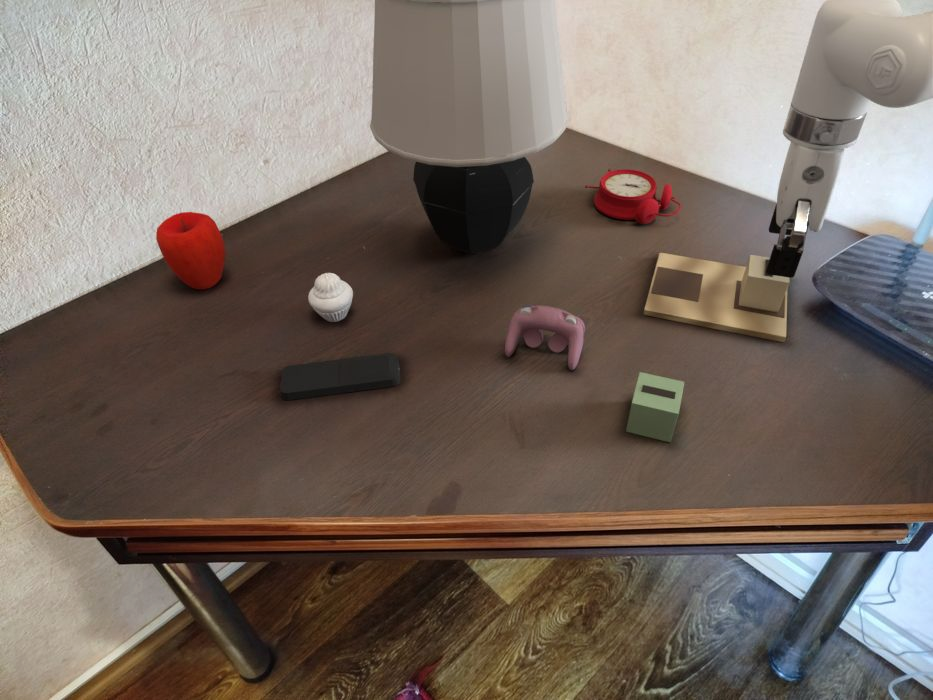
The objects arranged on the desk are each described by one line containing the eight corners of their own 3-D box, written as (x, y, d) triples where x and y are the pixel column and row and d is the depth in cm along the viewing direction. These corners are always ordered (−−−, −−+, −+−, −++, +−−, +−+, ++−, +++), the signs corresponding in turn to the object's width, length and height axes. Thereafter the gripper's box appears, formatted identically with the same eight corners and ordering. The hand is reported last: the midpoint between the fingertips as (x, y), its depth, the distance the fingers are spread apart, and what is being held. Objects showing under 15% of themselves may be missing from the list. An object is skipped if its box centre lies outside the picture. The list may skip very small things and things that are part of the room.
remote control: (281, 404, 79) (401, 385, 80) (277, 394, 78) (399, 375, 79) (284, 375, 83) (399, 358, 83) (280, 366, 82) (396, 348, 82)
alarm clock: (611, 161, 111) (693, 168, 102) (614, 195, 115) (693, 204, 105) (577, 186, 106) (660, 195, 96) (581, 220, 110) (662, 233, 100)
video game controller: (581, 362, 84) (590, 311, 81) (576, 373, 80) (585, 319, 77) (509, 347, 86) (516, 297, 84) (500, 357, 82) (507, 305, 80)
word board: (785, 279, 92) (788, 273, 91) (783, 342, 83) (786, 336, 82) (658, 257, 97) (659, 251, 96) (643, 315, 88) (644, 308, 87)
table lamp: (357, 241, 104) (303, -41, 76) (485, 184, 115) (478, -79, 87) (459, 324, 88) (438, 7, 60) (596, 248, 99) (630, -48, 72)
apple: (248, 272, 99) (227, 212, 91) (207, 305, 93) (180, 243, 86) (206, 258, 102) (182, 198, 95) (164, 289, 97) (135, 228, 89)
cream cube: (778, 290, 88) (790, 260, 85) (777, 312, 85) (789, 282, 82) (740, 283, 90) (750, 253, 86) (738, 305, 87) (748, 275, 83)
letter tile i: (676, 410, 75) (684, 381, 72) (670, 442, 72) (678, 413, 68) (633, 400, 77) (639, 371, 73) (625, 431, 73) (631, 402, 70)
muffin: (354, 328, 88) (345, 288, 83) (310, 330, 88) (299, 290, 84) (359, 299, 93) (351, 260, 88) (317, 301, 93) (306, 262, 88)
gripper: (867, 161, 63) (813, 298, 75) (856, 95, 75) (811, 222, 86) (785, 153, 65) (745, 287, 77) (787, 90, 77) (752, 215, 89)
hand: (780, 253), depth 82 cm, fingers open, 9 cm apart
